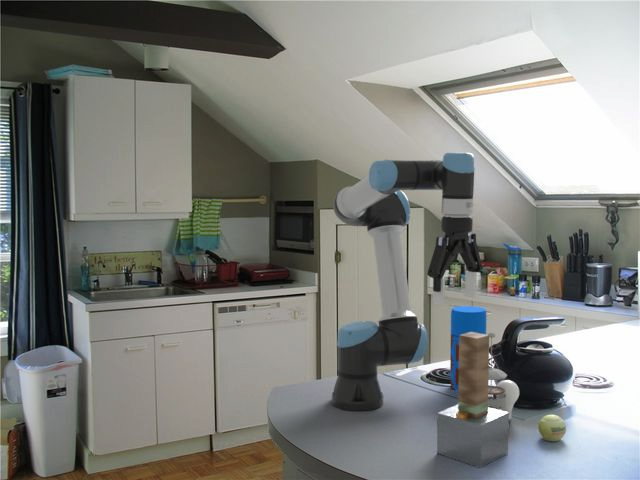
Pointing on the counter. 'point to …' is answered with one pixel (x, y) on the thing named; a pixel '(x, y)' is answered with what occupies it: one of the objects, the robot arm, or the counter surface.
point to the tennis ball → (552, 428)
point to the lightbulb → (509, 394)
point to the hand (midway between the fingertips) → (454, 300)
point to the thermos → (461, 323)
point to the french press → (494, 390)
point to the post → (473, 374)
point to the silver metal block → (472, 435)
